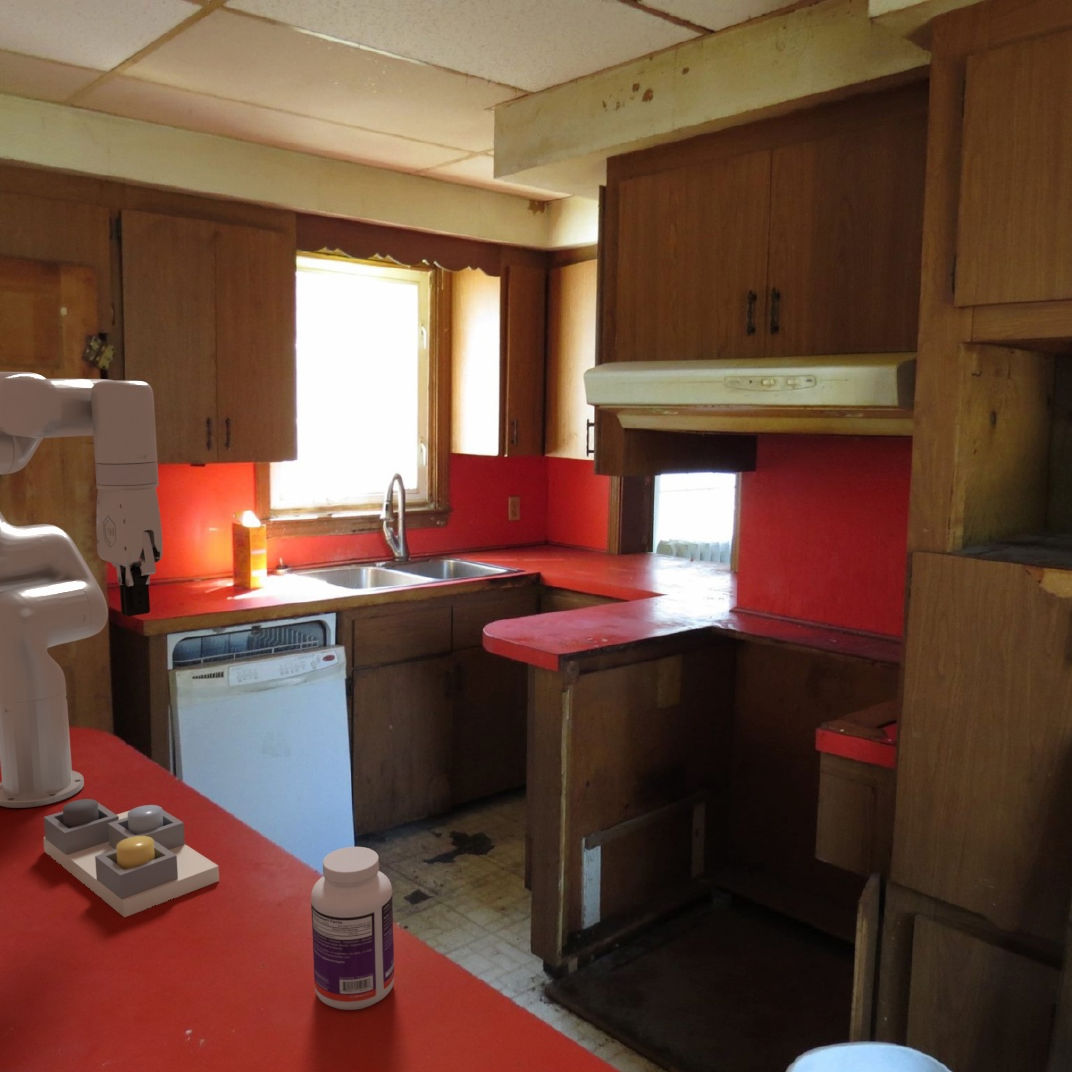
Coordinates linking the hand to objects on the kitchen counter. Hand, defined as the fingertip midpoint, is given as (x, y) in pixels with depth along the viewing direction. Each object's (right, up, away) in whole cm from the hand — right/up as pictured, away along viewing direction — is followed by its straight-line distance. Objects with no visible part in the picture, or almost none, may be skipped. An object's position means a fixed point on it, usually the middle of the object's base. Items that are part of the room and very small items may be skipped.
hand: (135, 613), depth 134 cm
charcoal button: (-7, -29, -1) cm, 30 cm away
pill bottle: (+35, -36, -31) cm, 59 cm away
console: (+1, -32, -4) cm, 32 cm away
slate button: (+3, -29, -3) cm, 30 cm away
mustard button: (+5, -31, -12) cm, 33 cm away
